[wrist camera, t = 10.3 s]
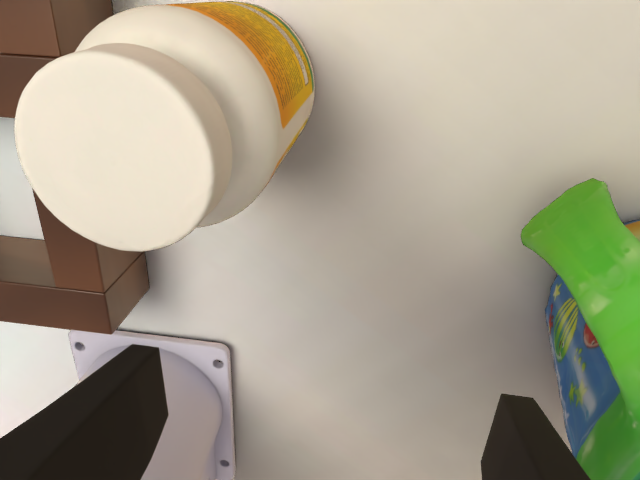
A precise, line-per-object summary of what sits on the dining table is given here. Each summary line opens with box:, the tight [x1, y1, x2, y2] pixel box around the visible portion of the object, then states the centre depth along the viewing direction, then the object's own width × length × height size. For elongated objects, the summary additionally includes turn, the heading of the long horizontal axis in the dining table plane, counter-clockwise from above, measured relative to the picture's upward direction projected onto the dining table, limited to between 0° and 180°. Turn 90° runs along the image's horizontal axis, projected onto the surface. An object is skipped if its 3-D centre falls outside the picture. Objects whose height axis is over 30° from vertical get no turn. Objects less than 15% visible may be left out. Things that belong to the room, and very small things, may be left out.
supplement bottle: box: [14, 1, 315, 252], centre depth 14 cm, size 5×5×10 cm
